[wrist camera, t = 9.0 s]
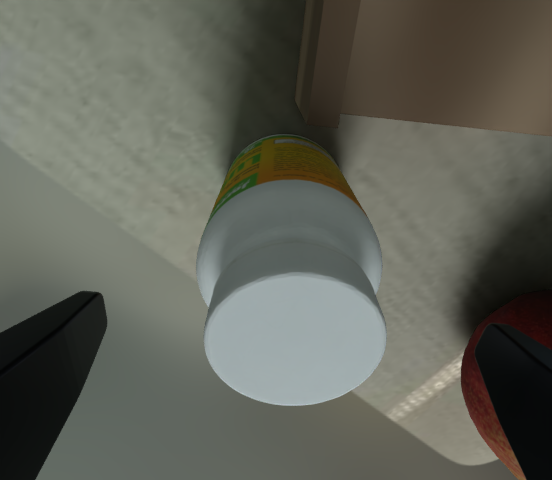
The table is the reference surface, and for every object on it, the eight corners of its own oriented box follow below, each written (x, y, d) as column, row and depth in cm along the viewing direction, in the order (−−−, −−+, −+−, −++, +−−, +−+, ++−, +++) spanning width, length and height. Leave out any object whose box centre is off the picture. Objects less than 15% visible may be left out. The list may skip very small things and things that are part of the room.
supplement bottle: (249, 110, 14) (212, 192, 6) (362, 160, 15) (478, 292, 7) (210, 219, 16) (142, 394, 8) (310, 255, 18) (346, 445, 9)
